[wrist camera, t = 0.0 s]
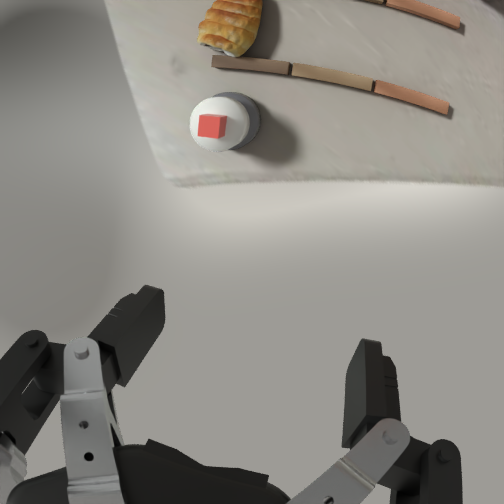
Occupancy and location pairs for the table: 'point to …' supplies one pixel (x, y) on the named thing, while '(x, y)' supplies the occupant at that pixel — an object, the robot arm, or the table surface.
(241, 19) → the pastry
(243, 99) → the button base
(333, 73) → the track
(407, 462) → the robot arm
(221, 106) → the dome button
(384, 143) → the table surface
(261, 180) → the table surface
